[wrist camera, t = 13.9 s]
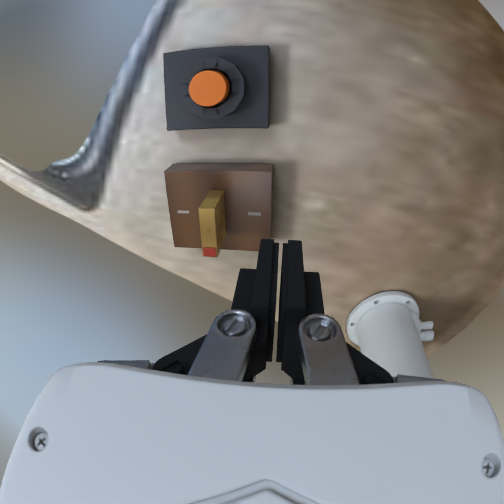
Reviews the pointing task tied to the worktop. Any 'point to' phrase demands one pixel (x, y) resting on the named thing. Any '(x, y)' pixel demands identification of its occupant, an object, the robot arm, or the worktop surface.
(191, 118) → the doorbell
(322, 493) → the robot arm
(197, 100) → the bell button
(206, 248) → the lock knob
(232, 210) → the plate
